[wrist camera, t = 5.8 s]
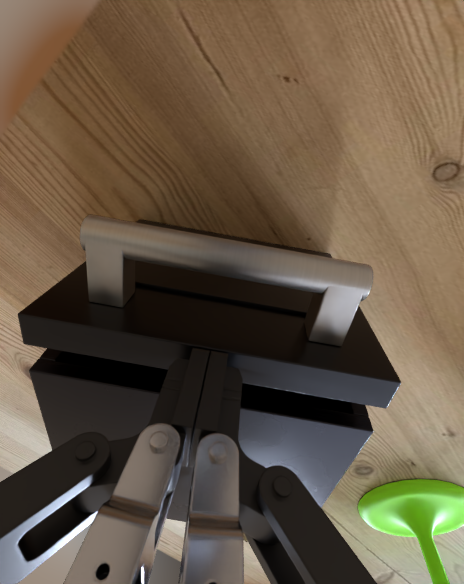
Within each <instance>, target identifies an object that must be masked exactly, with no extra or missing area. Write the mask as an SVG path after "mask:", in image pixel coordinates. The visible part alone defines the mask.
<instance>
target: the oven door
mask: <svg viewBox="0 0 464 584" xmlns="http://www.w3.org/2000/svg"><path fill="white" fill-rule="evenodd" d="M80 243H81V246H82V248H83V250H85V251H86V261H85V262H84V263H83V264H81V265H80V266H79V267H78V268H76V269H75V270H74V271H72V272H71V273H70V274H69V275H67V276H66V277H65V278H63V279H62V280H61V281H60V282H58V283H57V284H56V285H54V286H53V287H52V288H51V289H49V290H48V291H47V292H45V293H44V294H43V295H42V296H40V297H39V298H38V299H36V300H35V301H34V302H32V303H31V304H30V305H29V306H27V307H26V308H25V309H23V310H22V311H21V312H20V313H18V318H19V323H20V328H21V333H22V338H23V343H24V344H26V345H32V346H38V347H43V348H49V349H55V350H60V351H66V352H71V353H77V354H83V355H88V356H94V357H99V358H105V359H111V360H116V361H122V362H128V363H133V364H139V365H144V366H150V367H156V368H161V369H167V370H168V369H169V366H170V365H171V364H172V363H173V362H174V361H175V360H176V359H177V358H181V359H187V360H189V358H190V355H191V351H192V348H198V349H204V350H209V351H210V353H209V359H210V354H211V351H216V352H221V353H227V354H228V359H227V367H232V368H238V369H239V371H240V374H241V376H242V379H243V382H242V383H246V384H251V385H257V386H263V387H268V388H274V389H279V390H285V391H291V392H296V393H302V394H308V395H313V396H319V397H324V398H330V399H336V400H341V401H347V402H353V403H358V404H364V405H369V406H375V407H381V408H387V407H388V405H389V403H390V402H391V400H392V398H393V396H394V395H395V393H396V391H397V389H398V388H399V386H400V384H401V381H400V379H399V377H398V375H397V374H396V372H395V370H394V368H393V366H392V365H391V363H390V361H389V359H388V357H387V356H386V354H385V352H384V350H383V348H382V346H381V345H380V343H379V341H378V339H377V337H376V336H375V334H374V332H373V330H372V328H371V327H370V325H369V323H368V321H367V319H366V318H365V316H364V314H363V312H362V310H361V309H360V307H359V304H360V301H363V300H364V299H366V297H367V296H368V294H369V292H370V290H371V287H372V283H373V270H372V267H371V266H370V265H367V264H361V263H356V262H350V261H345V260H339V259H334V258H332V256H331V254H328V253H322V252H317V251H311V250H306V249H300V248H295V247H289V246H284V245H278V244H273V243H267V242H262V241H256V240H250V239H245V238H239V237H234V236H228V235H223V234H217V233H212V232H206V231H201V230H195V229H190V228H184V227H179V226H173V225H168V224H162V223H157V222H151V221H146V220H138V221H137V222H136V223H135V222H130V221H124V220H118V219H113V218H107V217H102V216H96V215H88V216H86V217H85V219H84V220H83V222H82V225H81V229H80ZM209 359H208V363H209ZM207 368H208V366H207ZM206 373H207V372H206Z"/></svg>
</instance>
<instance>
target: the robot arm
mask: <svg viewBox="0 0 464 584" xmlns="http://www.w3.org/2000/svg"><path fill="white" fill-rule="evenodd" d="M209 353H210V351H209V350H204V349H198V348H192V351H191V355H190V358H189V360H187V359H181V358H177V359H176V360H175V361H174V362H173V363H172V364H171V365H170V366H169V369H168V371H167V374H166V377H165V380H164V383H163V385H162V388H161V391H160V394H159V397H158V399H157V402H156V405H155V408H154V411H153V414H152V416H151V419H150V421H149V423H148V425H147V426H146V428H145V429H144V430H143V431H141V432H140V433H139V434H137V435H135V436H133V437H130V438H126V439H119V440H112V441H108V439H107V438H106V437H105V436H104V435H103V434H101V433H98V432H86V433H82V434H79V435H77V436H76V437H74V438H72V439H71V440H69V441H67V442H66V443H64V444H62V445H61V446H59V447H57V448H56V449H54V450H52V451H51V452H49V453H48V454H46V455H44V456H43V457H41V458H39V459H38V460H36V461H34V462H33V463H31V464H29V465H28V466H26V467H24V468H23V469H21V470H19V471H18V472H16V473H15V474H13V475H11V476H10V477H8V478H6V479H5V480H3V481H1V482H0V584H17V583H19V582H20V581H21V580H22V579H23V578H25V577H26V576H27V575H28V574H30V573H31V572H32V571H33V570H34V569H36V568H37V567H38V566H39V565H41V564H42V563H43V562H44V561H45V560H47V559H48V558H49V557H50V556H52V555H53V554H54V553H55V552H56V551H58V550H59V549H60V548H61V547H63V546H64V545H65V544H66V543H67V542H68V541H70V540H71V539H72V538H73V537H75V536H76V535H77V534H78V533H80V532H81V531H82V530H83V529H85V528H86V527H87V526H88V525H90V524H91V523H92V524H91V527H90V529H89V531H88V533H87V535H86V537H85V539H84V541H83V543H82V546H81V547H80V550H79V552H78V554H77V556H76V558H75V560H74V562H73V564H72V566H71V568H70V571H69V573H68V575H67V577H66V579H65V581H64V583H63V584H148V582H149V578H150V574H151V571H152V567H153V562H154V558H155V554H156V550H157V547H158V543H159V540H160V537H161V533H162V530H163V527H164V523H165V520H166V517H167V514H168V510H169V507H170V504H171V500H172V497H173V494H174V491H175V487H176V485H177V482H178V478H179V474H180V469H181V466H186V467H187V465H188V460H189V455H190V451H191V457H190V464H189V467H193V468H194V469H193V475H192V481H191V487H190V493H189V502H188V510H187V519H186V527H185V535H184V544H183V552H182V560H181V567H180V574H179V582H178V584H244V557H243V532H244V533H245V536H246V538H247V540H248V542H249V544H250V546H251V548H252V550H253V551H254V553H255V555H256V557H257V559H258V561H259V562H260V564H261V566H262V568H263V570H264V572H265V574H266V575H267V577H268V579H269V581H270V583H271V584H377V583H376V582H375V580H374V579H373V578H372V576H371V575H370V574H369V572H368V571H367V569H366V568H365V567H364V565H363V564H362V563H361V561H360V560H359V559H358V557H357V556H356V555H355V553H354V552H353V551H352V549H351V548H350V547H349V545H348V544H347V542H346V541H345V540H344V538H343V537H342V536H341V534H340V533H339V532H338V530H337V529H336V528H335V526H334V525H333V524H332V522H331V521H330V519H329V518H328V517H327V515H326V514H325V513H324V511H323V510H322V509H321V507H320V506H319V505H318V503H317V502H316V501H315V499H314V498H313V497H312V495H311V494H310V492H309V491H308V490H307V488H306V487H305V486H304V484H303V483H302V482H301V480H300V479H299V478H298V476H297V475H296V474H295V473H294V472H293V471H292V470H290V469H289V468H287V467H284V466H280V465H274V466H270V467H268V468H265V467H264V466H262V465H260V464H258V463H256V462H254V461H253V460H251V459H250V458H249V457H248V456H247V455H246V454H245V453H244V452H243V450H242V449H241V447H240V444H239V439H238V434H239V421H240V408H241V395H242V382H243V379H242V376H241V374H240V371H239V369H238V368H232V367H227V359H228V354H227V353H221V352H216V351H211V354H210V359H209ZM208 359H209V363H208ZM207 366H208V368H207ZM206 372H207V373H206ZM193 436H194V437H193ZM192 441H193V444H192ZM191 446H192V450H191Z"/></svg>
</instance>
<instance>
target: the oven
mask: <svg viewBox="0 0 464 584" xmlns="http://www.w3.org/2000/svg"><path fill="white" fill-rule="evenodd" d="M167 371H168V370H167V369H161V368H156V367H150V366H144V365H139V364H133V363H128V362H122V361H116V360H111V359H105V358H99V357H94V356H88V355H83V354H77V353H71V352H66V351H60V350H55V349H49V348H47V349H46V351H45V352H44V353H43V354H42V355H41V357H40V359H38V360H37V361H36V363H35V364H34V365H33V366H32V367H31V368H30V370H29V373H30V376H31V379H32V383H33V386H34V390H35V393H36V396H37V400H38V403H39V406H40V410H41V413H42V417H43V420H44V423H45V427H46V430H47V434H48V437H49V440H50V444H51V447H52V450H54V449H56V448H57V447H59V446H61V445H62V444H64V443H66V442H67V441H69V440H71V439H72V438H74V437H76V436H77V435H79V434H82V433H86V432H98V433H101V434H103V435H104V436H105V437H106V438H107V439H108V441H112V440H119V439H126V438H130V437H133V436H135V435H137V434H139V433H140V432H141V431H143V430H144V429H145V428H146V426H147V425H148V423H149V421H150V419H151V416H152V414H153V411H154V408H155V405H156V402H157V399H158V397H159V394H160V391H161V388H162V385H163V383H164V380H165V377H166V374H167ZM372 433H373V428H372V425H371V422H370V419H369V415H368V412H367V409H366V406H365V405H364V404H358V403H353V402H347V401H341V400H336V399H330V398H324V397H319V396H313V395H308V394H302V393H296V392H291V391H285V390H279V389H274V388H268V387H263V386H257V385H251V384H246V383H242V395H241V408H240V421H239V434H238V439H239V444H240V447H241V449H242V450H243V452H244V453H245V454H246V455H247V456H248V457H249V458H250V459H251V460H253V461H254V462H256V463H258V464H260V465H262V466H264V467H265V468H268V467H270V466H274V465H280V466H284V467H287V468H289V469H290V470H292V471H293V472H294V473H295V474H296V475H297V476H298V478H299V479H300V480H301V482H302V483H303V484H304V486H305V487H306V488H307V490H308V491H309V492H310V494H311V495H312V497H313V498H314V499H315V501H316V502H317V503H318V505H319V506H320V507H322V506H323V504H324V503H325V501H326V500H327V498H328V497H329V495H330V494H331V492H332V491H333V490H334V488H335V487H336V485H337V484H338V482H339V481H340V479H341V478H342V477H343V475H344V474H345V472H346V471H347V469H348V468H349V466H350V465H351V463H352V462H353V461H354V459H355V458H356V456H357V455H358V453H359V452H360V450H361V449H362V447H363V446H364V445H365V443H366V442H367V440H368V439H369V437H370V436H371V434H372ZM193 437H194V436H193ZM192 444H193V441H192ZM191 450H192V446H191ZM190 457H191V451H190V455H189V460H188V465H187V467H186V466H181V469H180V474H179V478H178V482H177V485H176V487H175V491H174V494H173V497H172V500H171V504H170V507H169V510H168V514H167V517H166V518H167V519H172V520H178V521H184V522H186V519H187V510H188V502H189V493H190V487H191V481H192V475H193V469H194V468H193V467H189V464H190Z"/></svg>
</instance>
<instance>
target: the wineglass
mask: <svg viewBox="0 0 464 584" xmlns="http://www.w3.org/2000/svg"><path fill="white" fill-rule="evenodd" d="M358 511H359V514H360V516H361V517H362V518H363V519H364V521H365V522H366V523H367V524H368V525H370V526H371V527H373V528H375V529H377V530H379V531H382V532H385V533H387V534H392V535H397V536H406V537H417V538H418V541H419V544H420V547H421V550H422V553H423V556H424V559H425V562H426V565H427V567H428V570H429V573H430V576H431V579H432V582H433V584H450V583H449V580H448V577H447V575H446V572H445V569H444V567H443V564H442V561H441V559H440V556H439V553H438V551H437V548H436V545H435V543H434V540H433V535H439V534H443V533H447V532H450V531H453V530H455V529H457V528H460V527H461V526H463V525H464V488H463V487H460V486H458V485H455V484H453V483H449V482H444V481H439V480H428V479H414V480H402V481H398V482H393V483H388V484H385V485H382V486H380V487H377V488H375V489H373V490H371V491H370V492H368V493H366V494H365V495H364V496H363V497H362V498H361V500H360V501H359V504H358Z"/></svg>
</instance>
